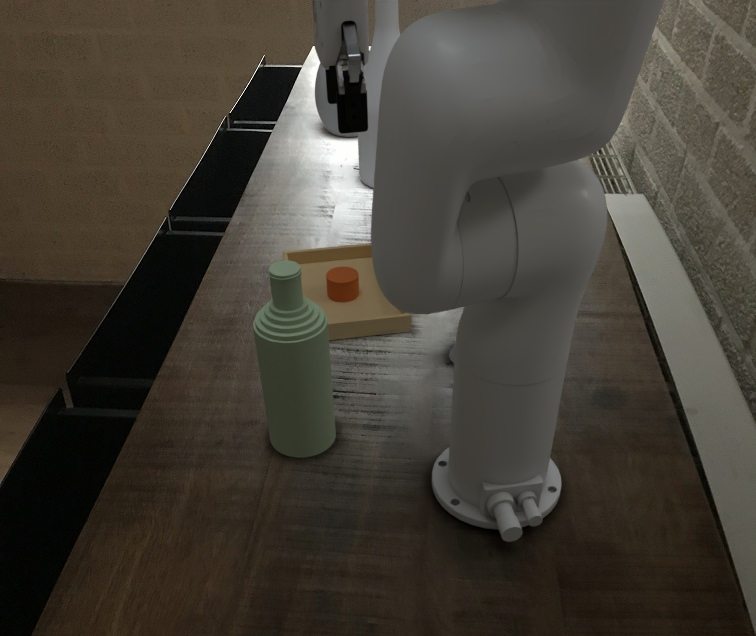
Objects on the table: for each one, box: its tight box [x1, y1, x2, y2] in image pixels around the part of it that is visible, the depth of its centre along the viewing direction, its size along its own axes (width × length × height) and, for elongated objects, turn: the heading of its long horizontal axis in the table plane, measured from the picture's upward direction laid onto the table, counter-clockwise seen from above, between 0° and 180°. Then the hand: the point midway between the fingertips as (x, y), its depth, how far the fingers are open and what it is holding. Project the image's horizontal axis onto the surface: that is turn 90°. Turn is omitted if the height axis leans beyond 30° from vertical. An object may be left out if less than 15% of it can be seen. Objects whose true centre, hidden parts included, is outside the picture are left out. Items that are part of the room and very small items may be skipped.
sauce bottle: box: [252, 259, 337, 459], centre depth 78 cm, size 7×7×20 cm
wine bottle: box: [357, 0, 401, 188], centre depth 119 cm, size 10×10×30 cm
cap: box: [326, 267, 359, 302], centre depth 103 cm, size 4×4×3 cm
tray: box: [282, 242, 413, 341], centre depth 103 cm, size 19×14×2 cm
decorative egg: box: [314, 50, 370, 138], centre depth 140 cm, size 12×12×15 cm
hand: (347, 116), depth 89 cm, fingers open, 9 cm apart
